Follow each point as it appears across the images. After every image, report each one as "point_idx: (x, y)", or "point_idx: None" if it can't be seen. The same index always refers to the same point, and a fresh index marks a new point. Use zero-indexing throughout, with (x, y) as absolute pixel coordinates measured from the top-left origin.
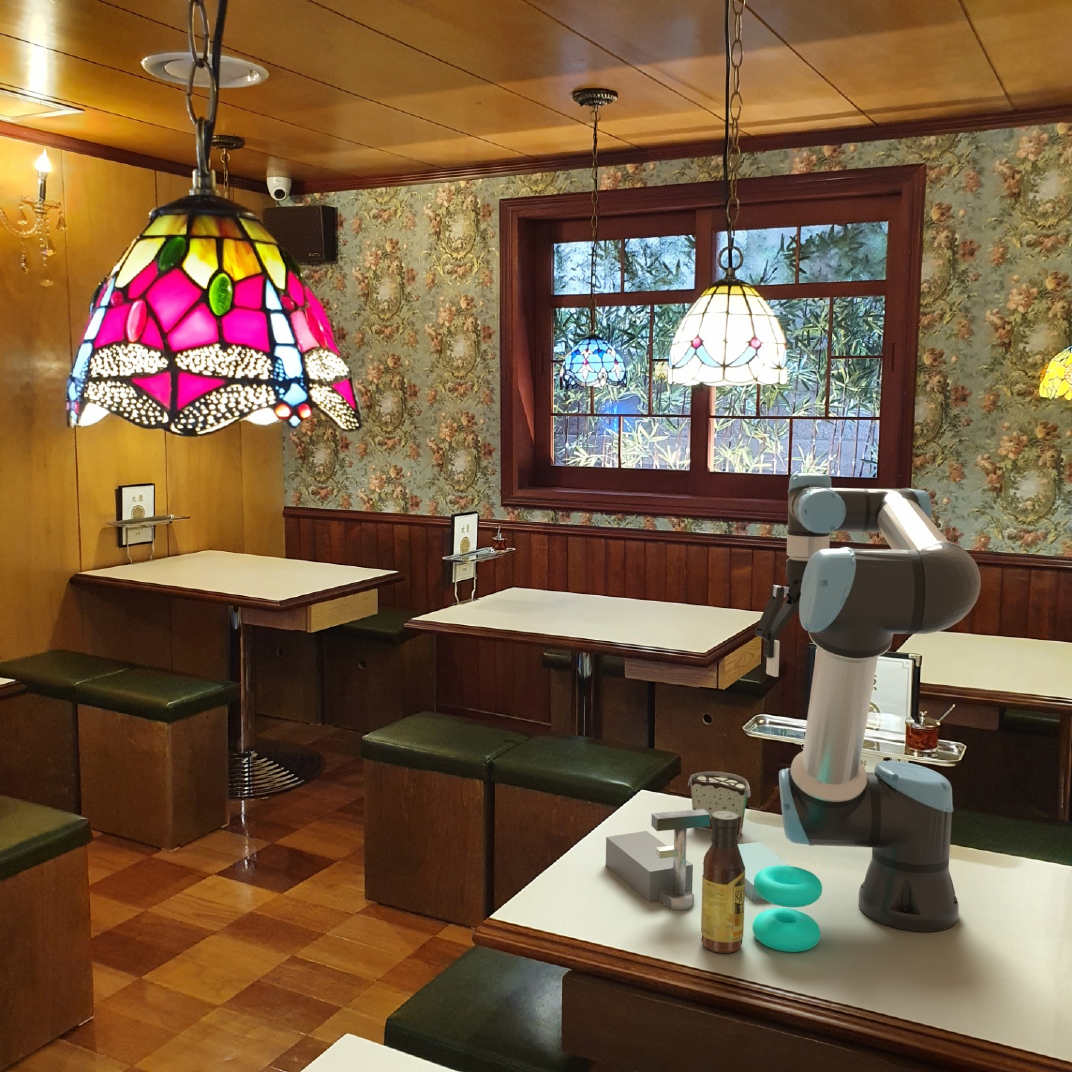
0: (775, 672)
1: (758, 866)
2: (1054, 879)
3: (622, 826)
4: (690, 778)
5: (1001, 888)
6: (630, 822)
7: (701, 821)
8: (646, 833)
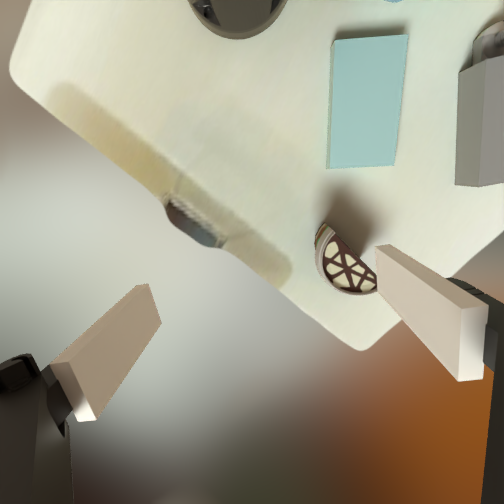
0: (395, 248)
1: (371, 93)
2: (28, 38)
3: None
4: None
5: (100, 22)
6: None
7: None
8: (483, 178)
